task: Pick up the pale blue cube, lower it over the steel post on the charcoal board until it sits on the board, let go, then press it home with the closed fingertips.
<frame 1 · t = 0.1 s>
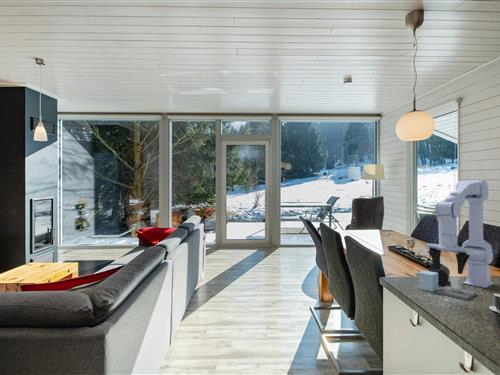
hand: (448, 271, 112), 10 cm above the worktop, tool pointing down, fingers open, 7 cm apart
end cap: (439, 283, 131), on the worktop
post: (455, 284, 117), on the board, point 4 cm above the worktop
board: (456, 293, 117), on the worktop
pale blue cube: (428, 289, 123), on the worktop
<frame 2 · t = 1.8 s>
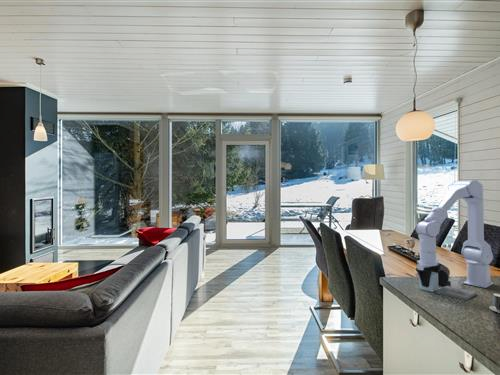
hand: (428, 285, 123), 2 cm above the worktop, tool pointing down, fingers closed on pale blue cube, 5 cm apart
pale blue cube: (428, 289, 123), on the worktop, touching gripper
everything else where it was.
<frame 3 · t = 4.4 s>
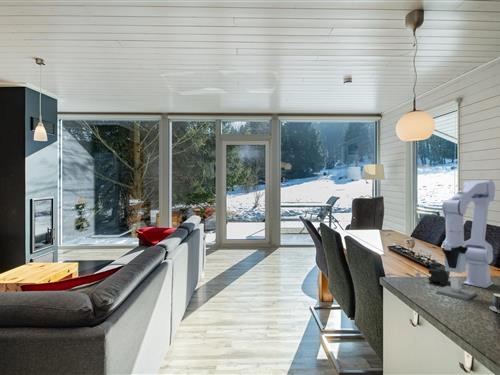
hand: (455, 266, 117), 10 cm above the worktop, tool pointing down, fingers closed on pale blue cube, 5 cm apart
pale blue cube: (455, 270, 117), point 9 cm above the worktop, touching gripper
everything else where it was.
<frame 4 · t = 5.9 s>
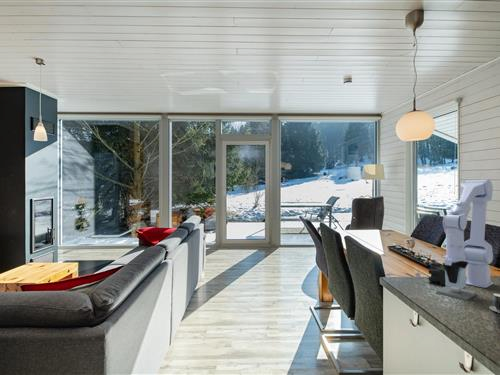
hand: (455, 281, 117), 5 cm above the worktop, tool pointing down, fingers closed on pale blue cube, 5 cm apart
pale blue cube: (455, 285, 117), point 3 cm above the worktop, touching gripper
everything else where it was.
when the fingers open (3 cm above the worktop, at t = 7.0 s): pale blue cube stays where it is, resting on board.
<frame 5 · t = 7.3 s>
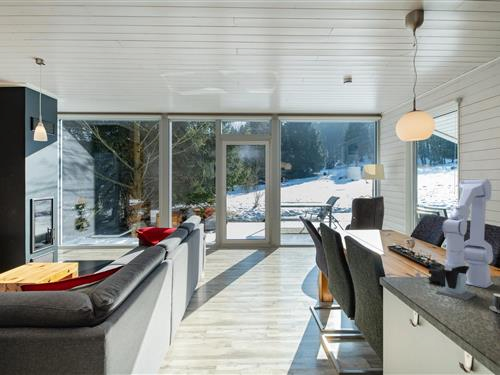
hand: (456, 286, 117), 3 cm above the worktop, tool pointing down, fingers open, 7 cm apart
pale blue cube: (455, 291, 117), point 1 cm above the worktop, touching board
everything else where it was.
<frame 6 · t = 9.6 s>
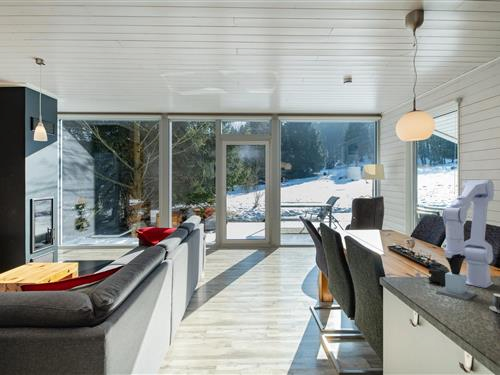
hand: (455, 274, 117), 8 cm above the worktop, tool pointing down, fingers closed, pressing on pale blue cube
pale blue cube: (455, 291, 117), point 1 cm above the worktop, touching board, gripper
everything else where it was.
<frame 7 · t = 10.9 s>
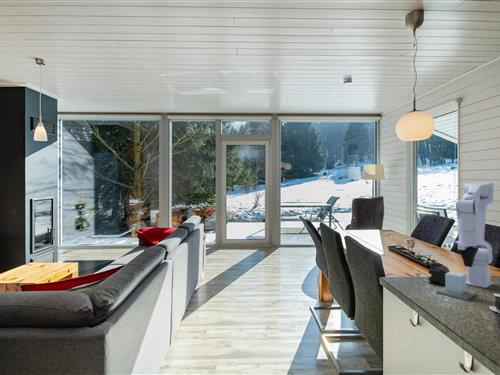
hand: (468, 266, 117), 10 cm above the worktop, tool pointing down, fingers closed
pale blue cube: (455, 291, 117), point 1 cm above the worktop, touching board
everything else where it was.
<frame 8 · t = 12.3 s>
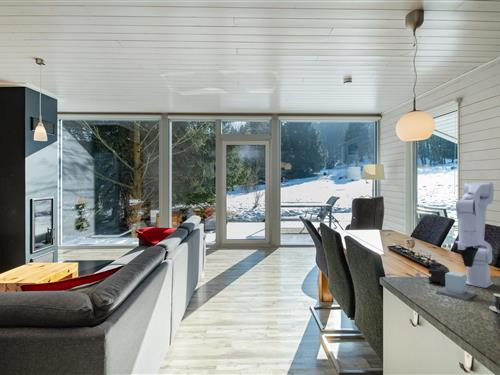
hand: (468, 266, 117), 10 cm above the worktop, tool pointing down, fingers closed
nothing on the worktop moved.
at the end: pale blue cube 0.1 cm from the post (horizontally); pale blue cube point 1.0 cm above the worktop; the gripper is holding nothing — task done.
